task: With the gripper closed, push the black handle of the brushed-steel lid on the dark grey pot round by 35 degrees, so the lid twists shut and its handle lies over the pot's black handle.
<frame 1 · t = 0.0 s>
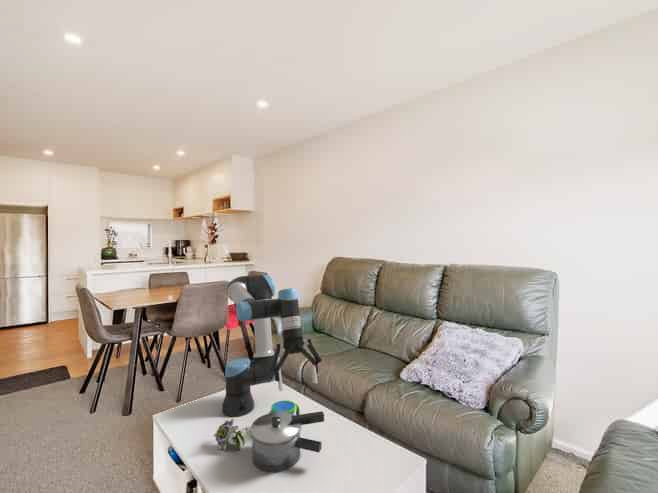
hand: (298, 386, 124), 28 cm above the table, tool tilted 20°, fingers open, 13 cm apart
snack cup: (283, 429, 145), on the table
cooker lid: (288, 422, 128), point 12 cm above the table, hinge at 35.0°
cooker pot: (276, 455, 127), on the table
passion flower: (230, 445, 135), on the table
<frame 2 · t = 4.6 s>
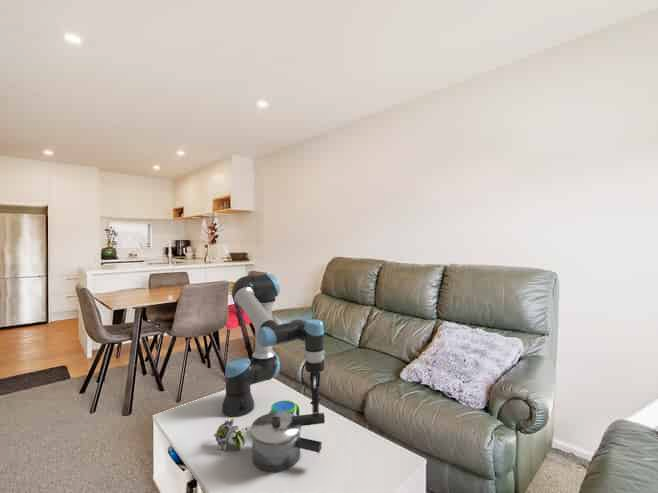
hand: (315, 418, 132), 12 cm above the table, tool pointing down, fingers closed
cooker lid: (288, 422, 128), point 12 cm above the table, hinge at 31.3°, touching gripper
everything else where it was.
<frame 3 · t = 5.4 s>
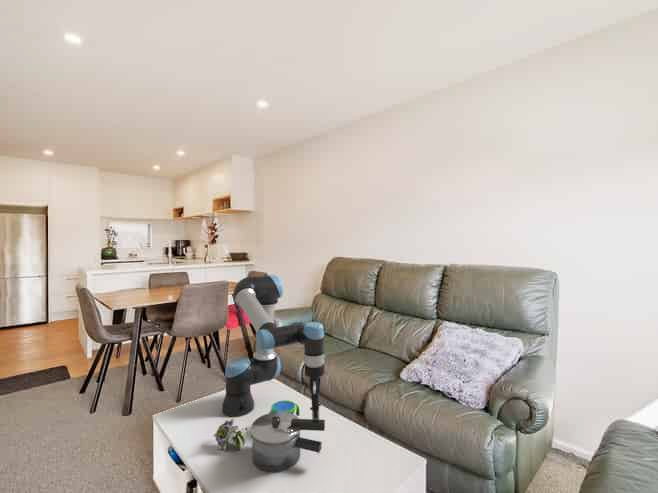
hand: (315, 424, 128), 12 cm above the table, tool pointing down, fingers closed
cooker lid: (288, 424, 127), point 12 cm above the table, hinge at 15.5°, touching gripper
everything else where it was.
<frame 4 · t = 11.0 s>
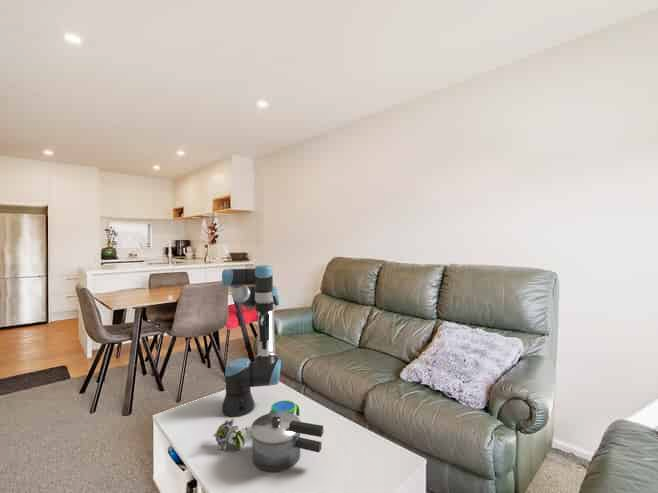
hand: (264, 355, 144), 32 cm above the table, tool pointing down, fingers closed
cooker lid: (287, 426, 126), point 12 cm above the table, hinge at 3.0°
everything else where it was.
at the end: cooker lid at +3° (first picture: +35°) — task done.
